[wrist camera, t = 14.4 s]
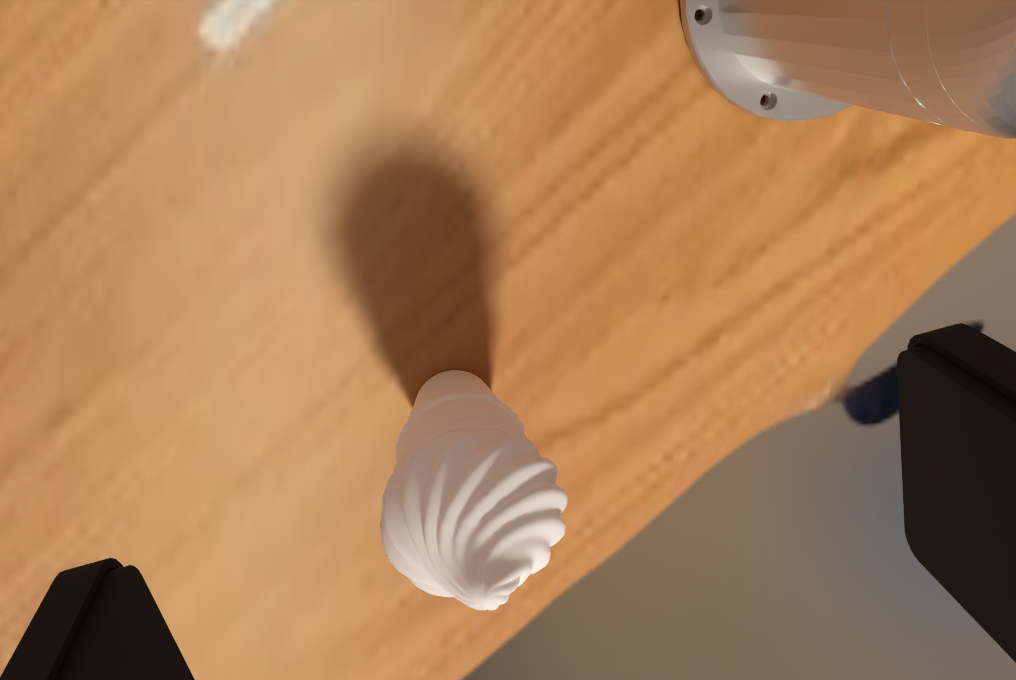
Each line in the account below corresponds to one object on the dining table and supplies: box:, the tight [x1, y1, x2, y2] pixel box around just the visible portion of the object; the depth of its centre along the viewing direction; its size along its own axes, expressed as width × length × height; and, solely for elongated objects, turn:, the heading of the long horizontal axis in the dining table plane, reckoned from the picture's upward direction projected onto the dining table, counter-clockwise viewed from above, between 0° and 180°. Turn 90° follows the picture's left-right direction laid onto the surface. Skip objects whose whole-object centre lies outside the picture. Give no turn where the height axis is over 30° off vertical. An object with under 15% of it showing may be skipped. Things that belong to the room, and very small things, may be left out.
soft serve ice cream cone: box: [380, 370, 568, 610], centre depth 40 cm, size 8×8×16 cm
